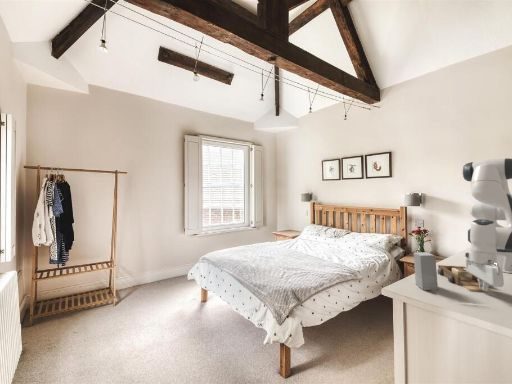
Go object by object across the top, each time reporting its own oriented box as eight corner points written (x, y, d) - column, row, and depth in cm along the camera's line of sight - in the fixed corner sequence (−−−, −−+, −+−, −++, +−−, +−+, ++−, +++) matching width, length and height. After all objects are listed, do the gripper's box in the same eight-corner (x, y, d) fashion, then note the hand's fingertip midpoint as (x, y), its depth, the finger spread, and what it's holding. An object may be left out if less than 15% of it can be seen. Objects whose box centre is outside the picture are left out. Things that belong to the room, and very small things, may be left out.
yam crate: (465, 276, 131) (465, 267, 131) (472, 280, 125) (471, 270, 125) (451, 275, 133) (451, 266, 133) (457, 279, 127) (457, 270, 127)
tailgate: (485, 286, 118) (494, 290, 111) (485, 288, 118) (494, 293, 111) (461, 284, 120) (468, 288, 114) (461, 287, 120) (469, 291, 114)
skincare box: (438, 291, 115) (438, 255, 115) (420, 290, 116) (420, 255, 117) (429, 284, 123) (429, 251, 123) (413, 283, 125) (413, 251, 125)
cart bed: (467, 275, 138) (467, 266, 138) (491, 289, 117) (491, 279, 117) (435, 272, 142) (435, 264, 142) (454, 286, 121) (454, 276, 121)
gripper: (509, 264, 100) (509, 300, 100) (478, 252, 120) (478, 282, 120) (489, 263, 102) (490, 298, 102) (462, 252, 122) (463, 281, 122)
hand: (483, 289), depth 111 cm, fingers closed
